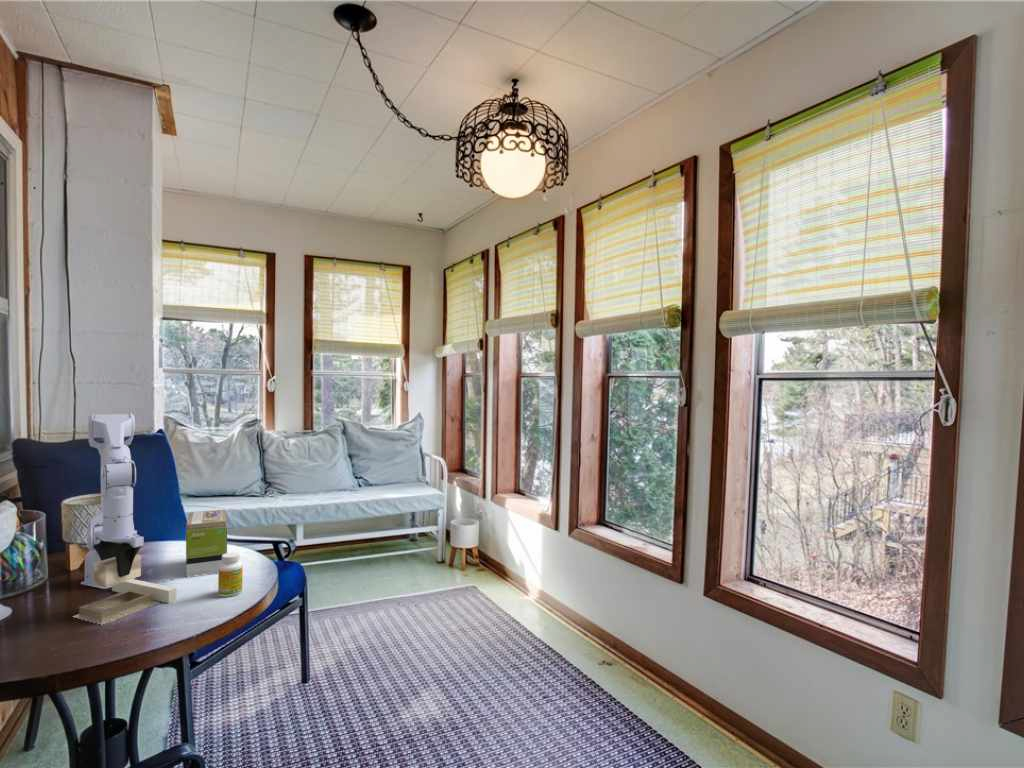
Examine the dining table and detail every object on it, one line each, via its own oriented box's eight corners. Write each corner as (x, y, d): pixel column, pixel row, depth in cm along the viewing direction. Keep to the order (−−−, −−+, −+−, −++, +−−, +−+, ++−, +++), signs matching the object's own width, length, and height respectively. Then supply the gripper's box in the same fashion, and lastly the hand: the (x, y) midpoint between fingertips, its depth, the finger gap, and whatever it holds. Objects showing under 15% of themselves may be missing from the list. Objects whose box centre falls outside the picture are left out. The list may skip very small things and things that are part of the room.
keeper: (72, 617, 126) (72, 607, 126) (129, 597, 138) (130, 587, 138) (102, 625, 122) (102, 614, 122) (158, 603, 134) (158, 593, 134)
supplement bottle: (232, 598, 138) (232, 558, 138) (213, 596, 139) (213, 557, 139) (246, 590, 144) (247, 552, 143) (228, 588, 145) (228, 550, 145)
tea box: (188, 561, 165) (188, 511, 165) (226, 557, 170) (227, 508, 169) (185, 578, 152) (185, 523, 152) (226, 572, 156) (227, 519, 156)
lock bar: (94, 584, 127) (94, 562, 127) (129, 573, 135) (129, 552, 135) (105, 587, 126) (106, 565, 126) (140, 576, 133) (141, 554, 133)
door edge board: (112, 590, 142) (112, 578, 142) (120, 588, 144) (120, 576, 144) (168, 603, 135) (168, 590, 135) (176, 600, 136) (176, 588, 136)
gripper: (156, 514, 131) (155, 572, 131) (114, 508, 136) (113, 564, 136) (126, 521, 124) (125, 583, 125) (83, 514, 130) (82, 573, 130)
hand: (117, 574), depth 130 cm, fingers closed on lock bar, 4 cm apart
